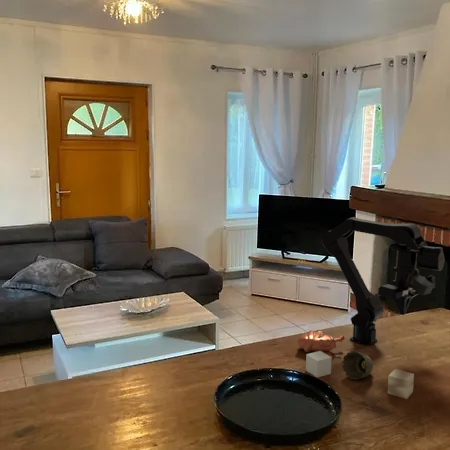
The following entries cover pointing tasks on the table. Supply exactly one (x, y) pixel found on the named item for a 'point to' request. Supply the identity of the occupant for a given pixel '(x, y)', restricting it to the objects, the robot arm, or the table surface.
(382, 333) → the table surface
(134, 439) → the table surface
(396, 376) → the birch block
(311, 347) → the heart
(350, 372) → the cup
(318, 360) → the grey block
